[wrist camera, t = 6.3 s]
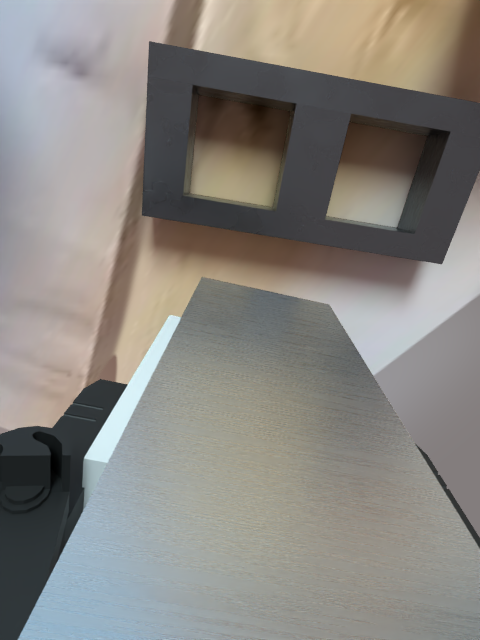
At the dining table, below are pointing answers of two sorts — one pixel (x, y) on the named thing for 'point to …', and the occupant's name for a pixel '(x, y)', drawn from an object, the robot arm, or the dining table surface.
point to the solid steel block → (263, 498)
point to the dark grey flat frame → (308, 152)
